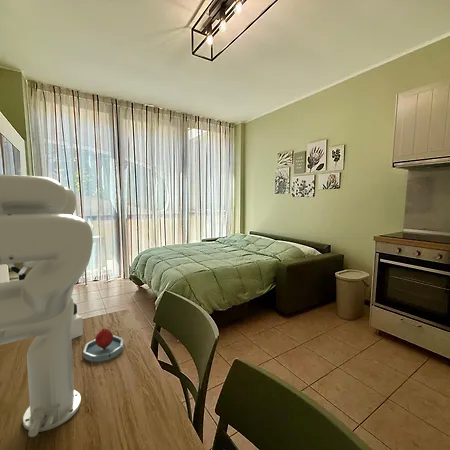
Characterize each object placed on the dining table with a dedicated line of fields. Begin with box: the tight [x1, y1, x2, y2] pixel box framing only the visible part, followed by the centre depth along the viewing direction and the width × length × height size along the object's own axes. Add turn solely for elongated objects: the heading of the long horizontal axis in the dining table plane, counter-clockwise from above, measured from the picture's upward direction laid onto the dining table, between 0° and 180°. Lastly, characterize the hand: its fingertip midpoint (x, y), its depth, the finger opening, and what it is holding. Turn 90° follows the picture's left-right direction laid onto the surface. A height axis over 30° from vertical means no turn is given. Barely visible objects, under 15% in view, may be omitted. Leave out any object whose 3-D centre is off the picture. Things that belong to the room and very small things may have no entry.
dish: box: [82, 335, 125, 363], centre depth 93 cm, size 13×13×2 cm
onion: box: [95, 327, 114, 349], centre depth 93 cm, size 6×6×8 cm
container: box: [72, 303, 84, 340], centre depth 102 cm, size 8×8×13 cm
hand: (42, 282), depth 82 cm, fingers open, 9 cm apart
